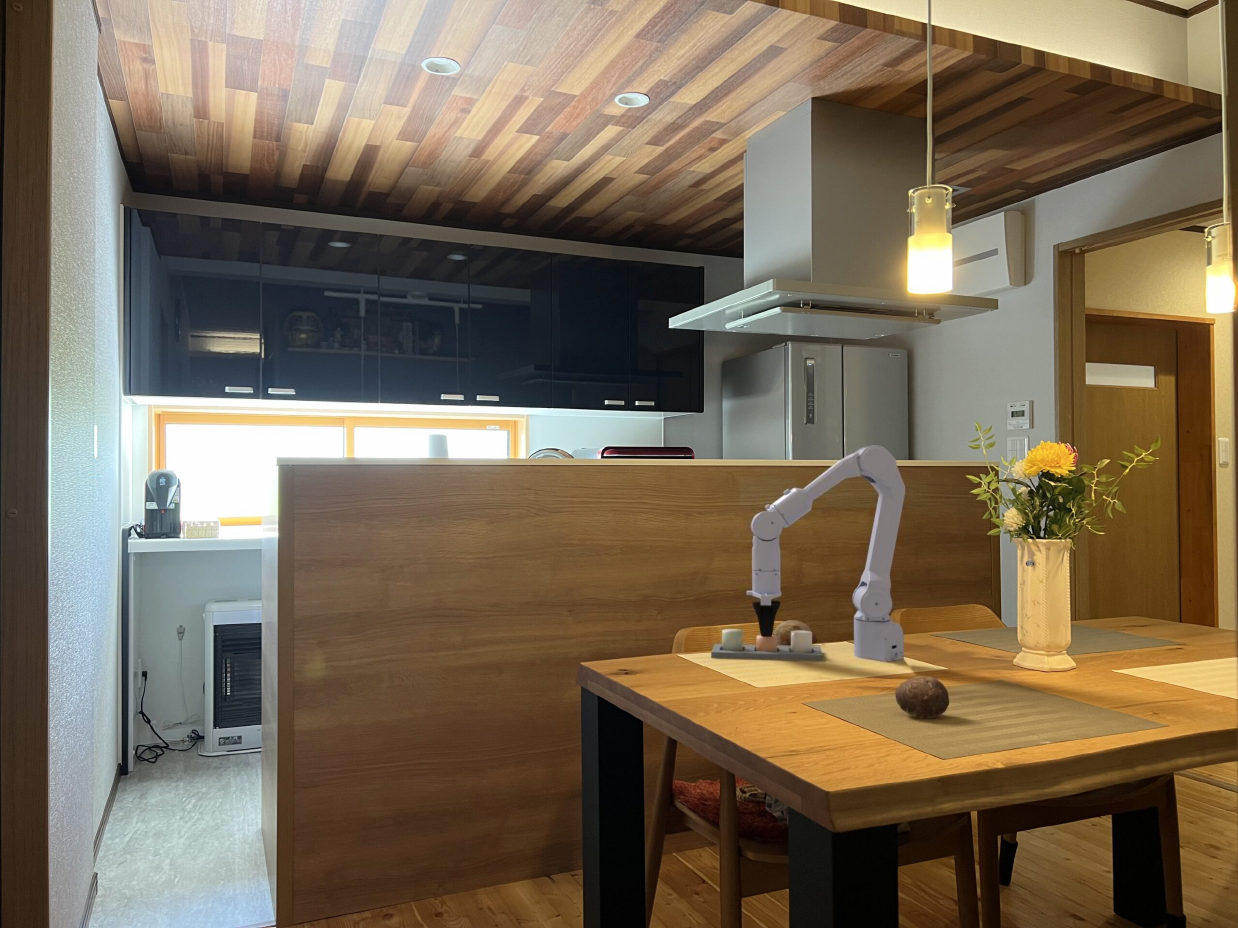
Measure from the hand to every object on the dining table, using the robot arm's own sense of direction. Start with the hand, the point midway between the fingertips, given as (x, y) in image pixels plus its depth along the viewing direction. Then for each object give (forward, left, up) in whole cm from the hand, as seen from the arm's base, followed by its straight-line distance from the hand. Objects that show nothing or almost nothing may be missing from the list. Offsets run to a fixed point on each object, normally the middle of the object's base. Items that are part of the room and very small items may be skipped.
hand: (766, 636), depth 193 cm
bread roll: (+8, -17, -6) cm, 20 cm away
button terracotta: (0, 0, -5) cm, 5 cm away
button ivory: (-5, -5, -4) cm, 8 cm away
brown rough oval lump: (-47, +11, -5) cm, 48 cm away
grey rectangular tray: (0, 0, -5) cm, 5 cm away
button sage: (+5, +5, -4) cm, 8 cm away
